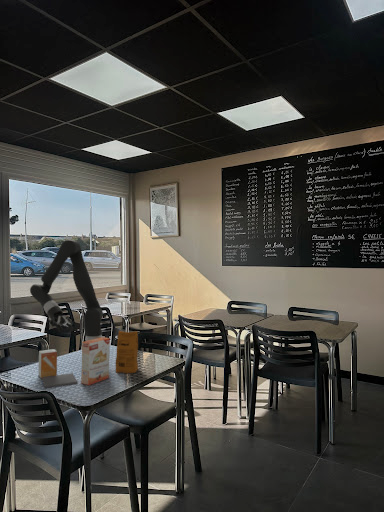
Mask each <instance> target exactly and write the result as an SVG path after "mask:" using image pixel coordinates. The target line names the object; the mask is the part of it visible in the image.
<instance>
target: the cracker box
mask: <svg viewBox="0 0 384 512" xmlns="http://www.w3.org/2000/svg"><path fill="white" fill-rule="evenodd" d="M110 339H111V338H109V337H103V336H102V337H101V338H97V339H93V340H88V341H86V340H85V341H81V371H80V372H81V378H80V379H81V380H80V381H81V384H84V385H85V386H91V385H93V384H96V383H99V382H101V381H104V380H107V379H109V378H110V353H111V350H110V347H111V345H110V344H111V343H110V342H111V341H110Z"/></svg>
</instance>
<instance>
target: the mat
mask: <svg viewBox="0 0 384 512" xmlns="http://www.w3.org/2000/svg"><path fill="white" fill-rule="evenodd" d="M41 380H42V383H43V387H44V389H50V388H55V387H57V388H58V387H62V386H64V387H65V386H70V385H77V384H78V380H77V378H76V377H75V375H74V373H73V372H71V373H63V374H57V375H55V376H47V377H42V378H41Z"/></svg>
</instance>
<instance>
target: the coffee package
mask: <svg viewBox="0 0 384 512" xmlns="http://www.w3.org/2000/svg"><path fill="white" fill-rule="evenodd" d="M138 352H139V338H138V331H136V330H135V331H129V332H128V331H123V330H122V331H121V330H119V331H118V335H117V344H116V357H115V373H117V374H119V373H123V374H135V373H136V372H137V371H138V370H139V362H138V354H139V353H138Z"/></svg>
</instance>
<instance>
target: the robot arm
mask: <svg viewBox="0 0 384 512" xmlns="http://www.w3.org/2000/svg"><path fill="white" fill-rule="evenodd" d="M68 259H70V261H71V266H72V278H73V281H74V284H75V288H76V290H77V292H78V293H79V295H80V296H81V298H82V299H83V301H84V304H85V306H86V311H85V313H84V317H83V318H84V332H85V341H88V340H93V339H97V338H101V337H103V330H102V328H101V324H102V323H101V321H102V319H103V318H104V311H103V310H102V307H101V305H100V302H99V301H98V298H97V296H96V292H95V289H94V285H93V282H92V279H91V276H90V274H89V270H88V268H87V266H86V263H85V260H84V256H83V253H82V247H81V245H80V243H79V242H78V241H77V240H75V239H66V240H64V241H62V243H61V245H60V247H59V248H58V251H57V253H56V255H55V257H54V258H53V261H52V262H51V263H50V265H49V266H48V268H47V269H46V270H45V272H44V273H43V275H42V276H41V278H40V280H41V282H42V284H39V283H35V284H32V285H31V286H30V289H29V291H30V295H31V296H32V297H33V298H34V300H36V301H37V302H39V303H40V305H41V307H42V308H43V309H44V312H45V313H46V315H47V316H48V318H47V321H48V322H49V324H50V325H51V327H55V328H56V329H57V331H58V332H59V333H62V332H63V330H64V328H63V327H62V326H64V327H67V329H68V330H69V332H70V333H72V332H73V331H74V330H75V328H74V326H73V325H74V322H73V320H71V318H70V317H69V316H68V315H67V316H64V315H63V314H64V311H63V310H62V309H61V307H60V306H59V304H58V303H57V302H56V301H55V300H54V298H53V297H52V295H50V294H49V293H50V291H51V289H52V286H53V284H54V282H55V280H56V279H58V278H57V277H58V276H59V275H60V273H61V270H62V268H63V266H64V264H65V262H66V261H67V260H68Z"/></svg>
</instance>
